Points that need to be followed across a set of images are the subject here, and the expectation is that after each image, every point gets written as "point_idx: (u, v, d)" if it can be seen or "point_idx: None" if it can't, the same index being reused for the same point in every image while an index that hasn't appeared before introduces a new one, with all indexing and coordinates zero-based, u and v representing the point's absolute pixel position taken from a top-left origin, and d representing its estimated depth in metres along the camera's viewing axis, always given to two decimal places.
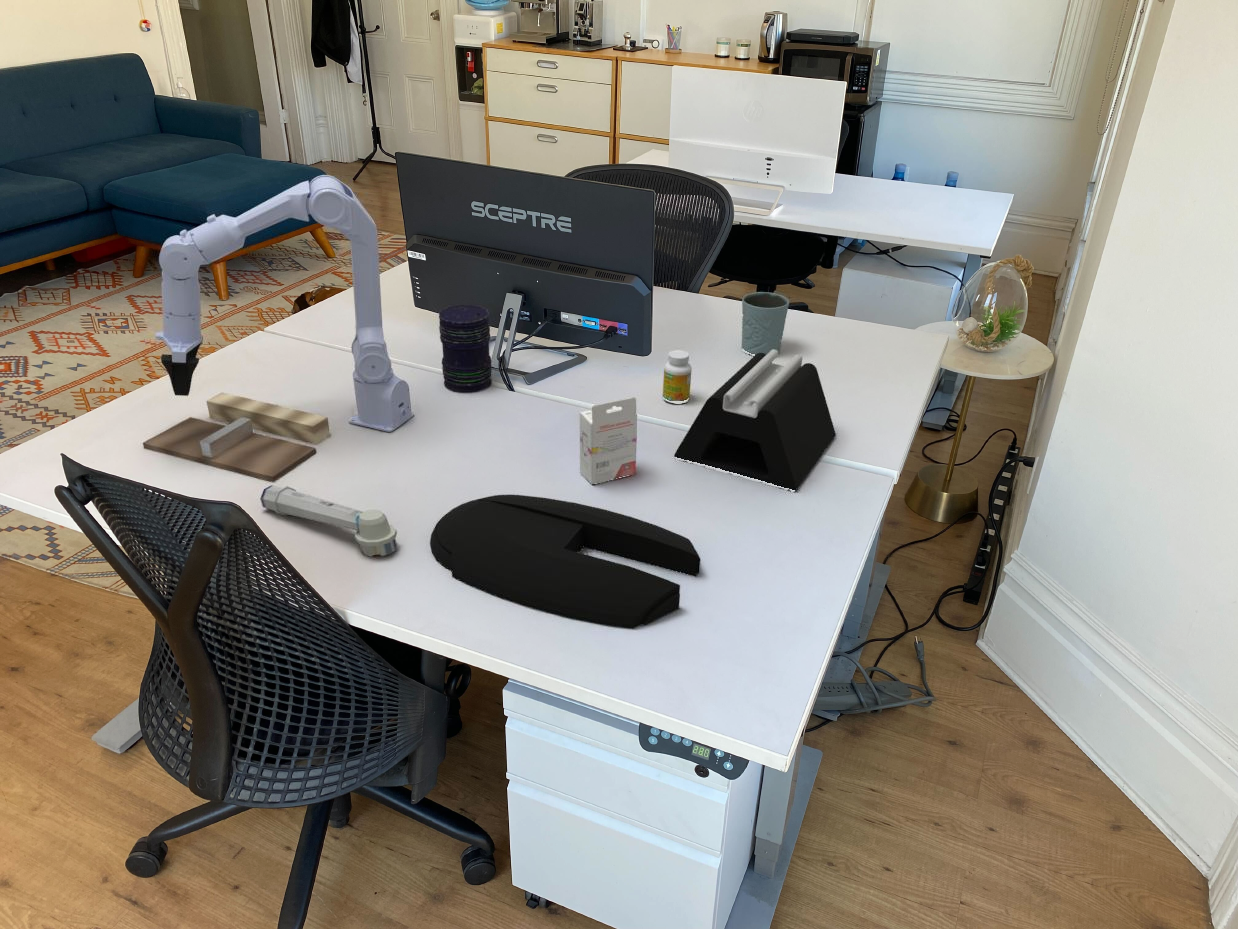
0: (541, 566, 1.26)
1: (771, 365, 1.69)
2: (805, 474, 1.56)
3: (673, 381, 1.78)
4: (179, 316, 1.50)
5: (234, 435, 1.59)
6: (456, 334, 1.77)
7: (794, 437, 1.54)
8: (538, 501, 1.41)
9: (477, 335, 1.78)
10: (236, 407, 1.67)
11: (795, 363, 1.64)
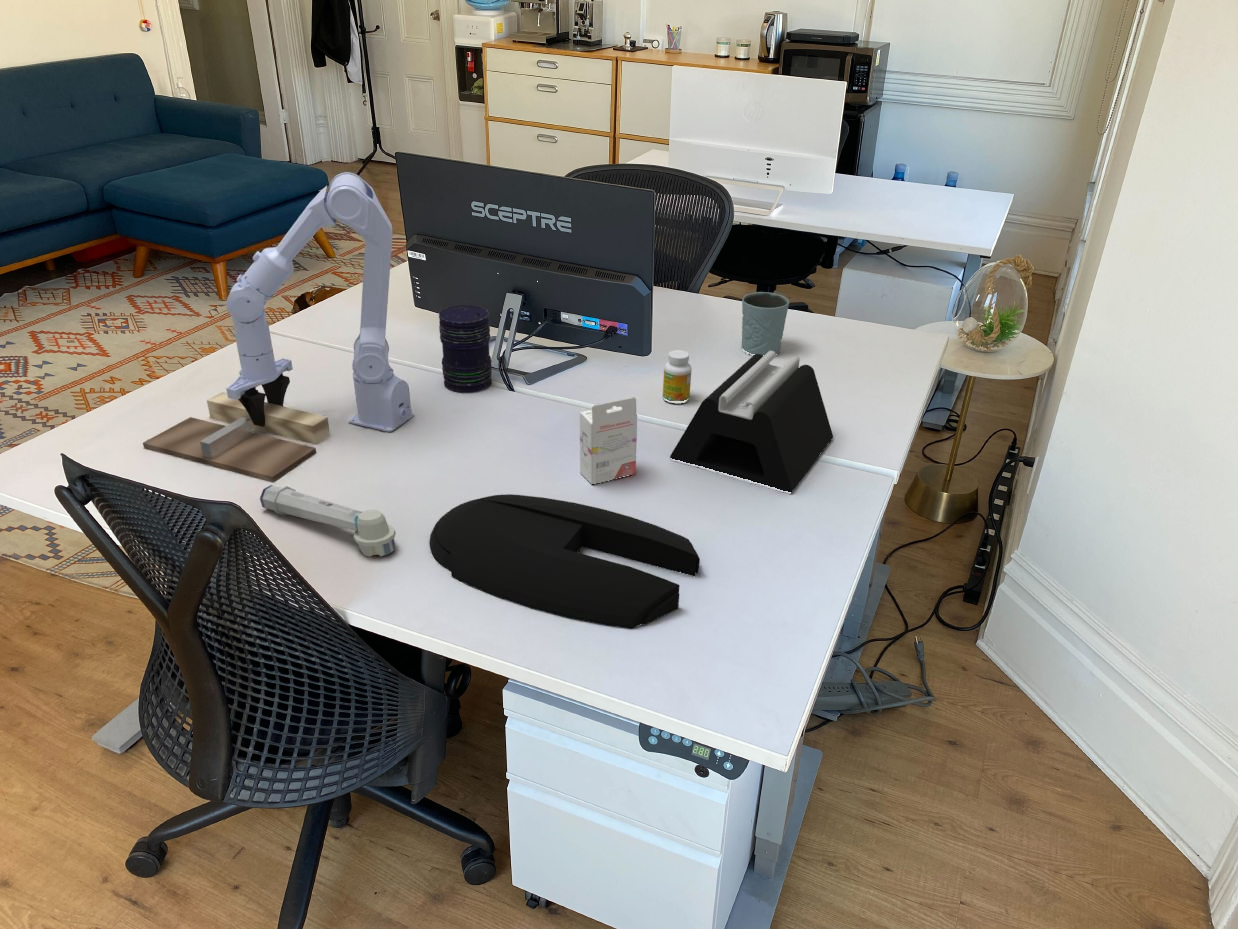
0: (540, 566, 1.26)
1: (768, 366, 1.68)
2: (801, 476, 1.56)
3: (673, 381, 1.78)
4: (244, 356, 1.59)
5: (234, 435, 1.59)
6: (456, 334, 1.77)
7: (790, 439, 1.54)
8: (537, 501, 1.41)
9: (477, 335, 1.78)
10: (237, 407, 1.67)
11: (792, 364, 1.63)
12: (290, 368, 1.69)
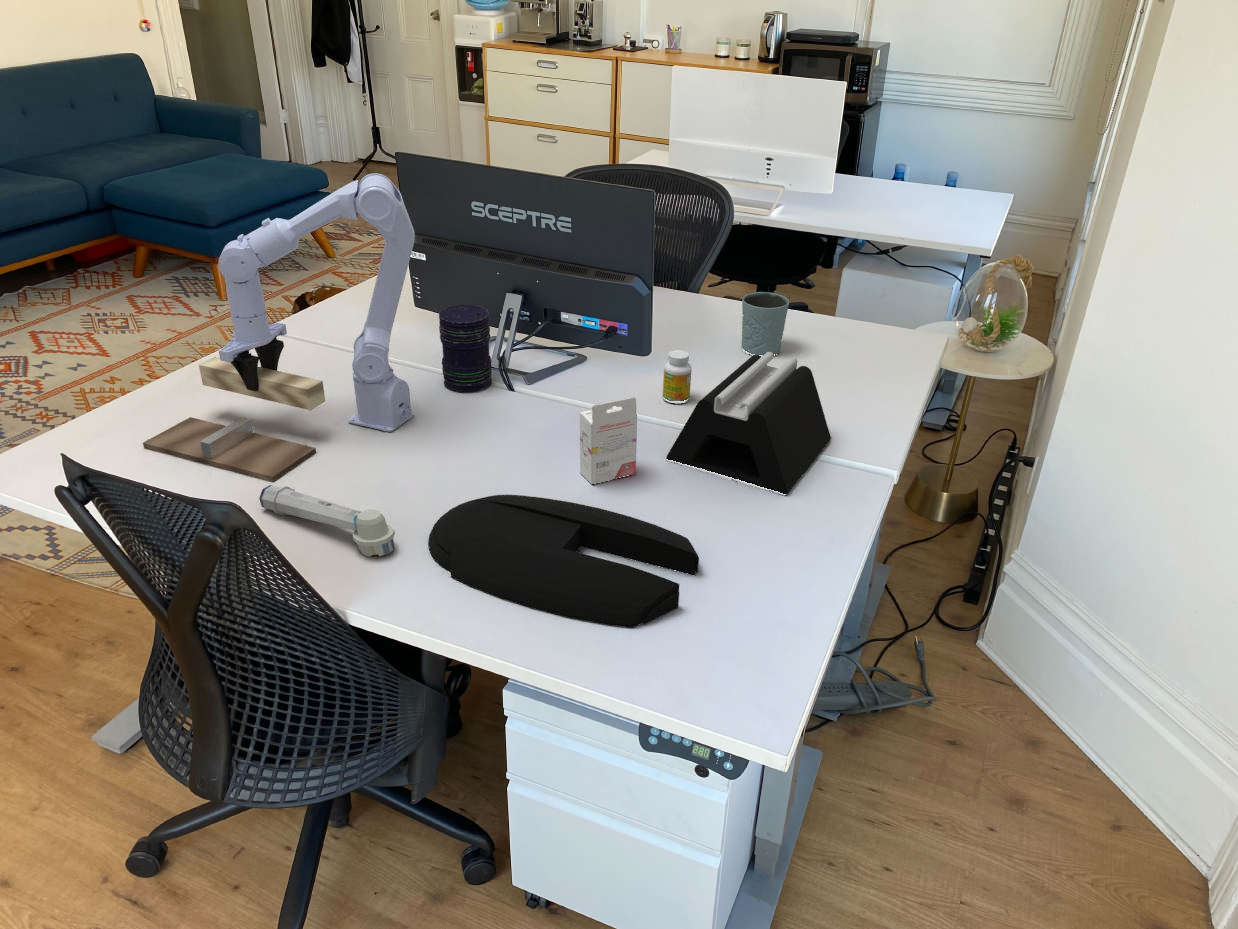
0: (540, 566, 1.26)
1: (766, 368, 1.68)
2: (797, 478, 1.55)
3: (673, 381, 1.78)
4: (236, 318, 1.55)
5: (234, 435, 1.59)
6: (456, 334, 1.77)
7: (786, 440, 1.53)
8: (536, 501, 1.41)
9: (477, 335, 1.78)
10: (229, 371, 1.63)
11: (789, 366, 1.63)
12: (284, 332, 1.65)
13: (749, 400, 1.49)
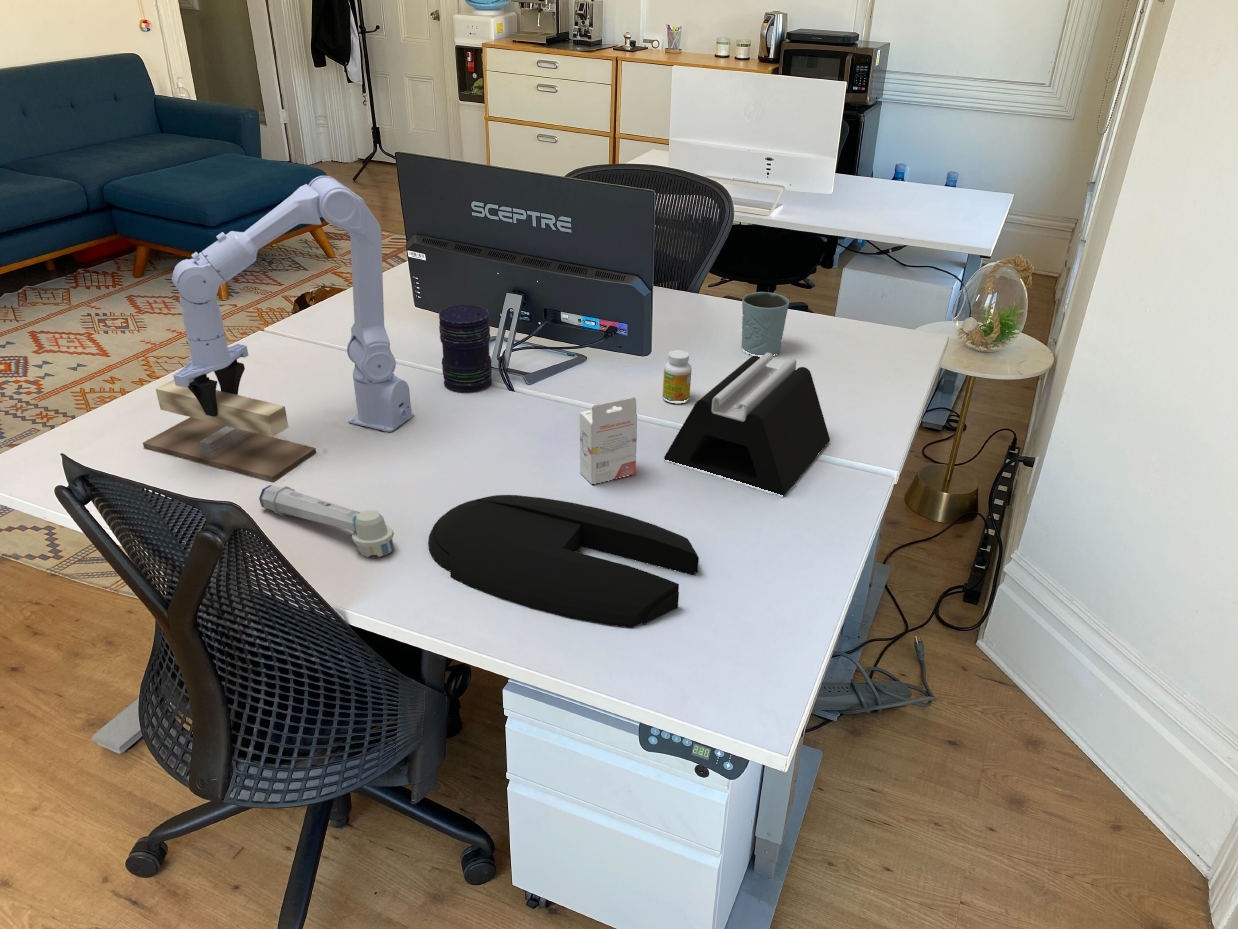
0: (539, 566, 1.26)
1: (765, 368, 1.68)
2: (795, 479, 1.55)
3: (673, 381, 1.78)
4: (192, 341, 1.47)
5: (234, 435, 1.59)
6: (456, 334, 1.77)
7: (784, 441, 1.53)
8: (536, 501, 1.41)
9: (477, 335, 1.78)
10: (187, 395, 1.55)
11: (788, 367, 1.62)
12: (245, 354, 1.58)
13: (747, 401, 1.49)
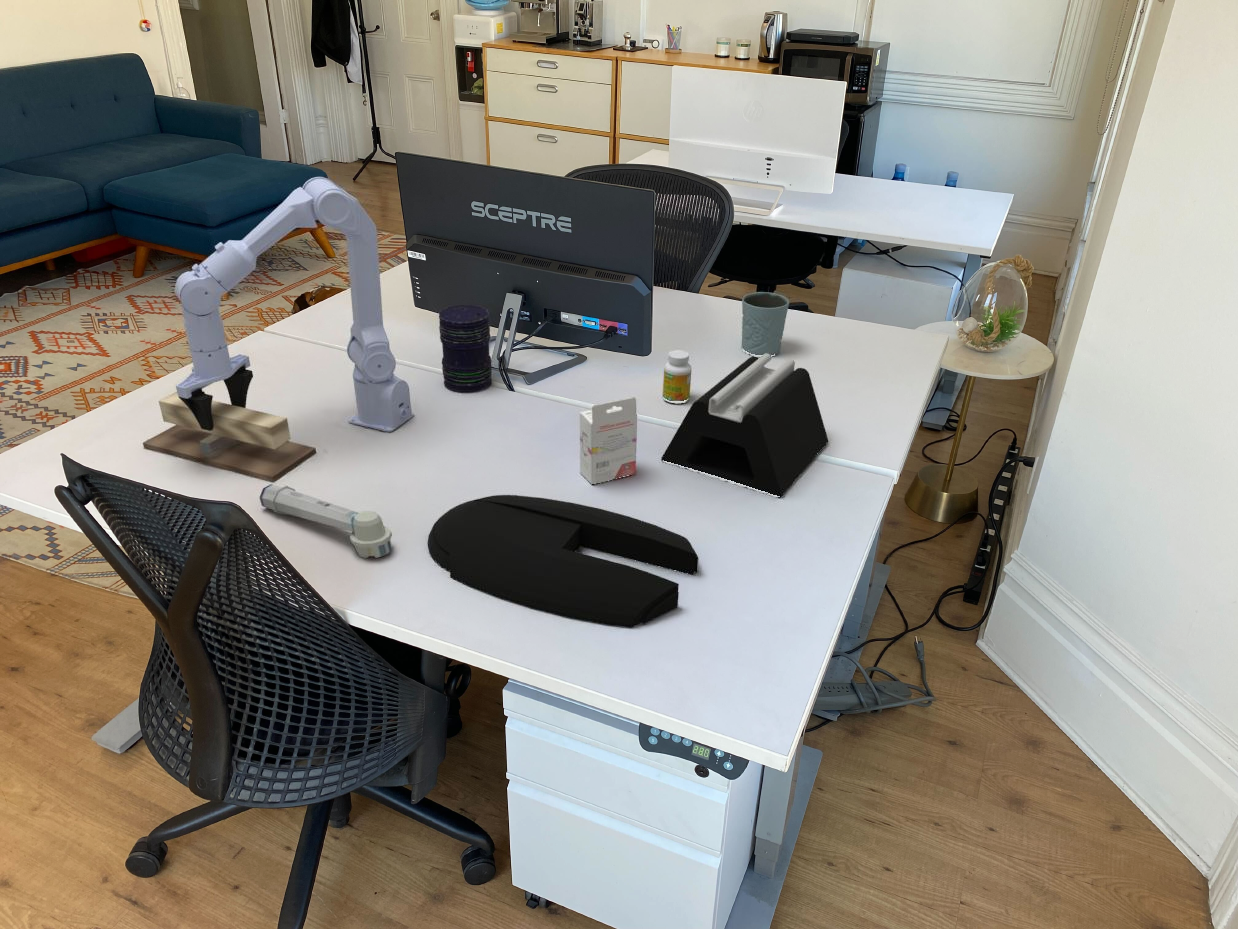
0: (539, 566, 1.26)
1: (763, 369, 1.67)
2: (792, 480, 1.54)
3: (673, 381, 1.78)
4: (195, 352, 1.48)
5: None
6: (456, 334, 1.77)
7: (781, 442, 1.53)
8: (535, 501, 1.41)
9: (477, 335, 1.78)
10: None
11: (786, 368, 1.62)
12: (247, 365, 1.59)
13: (744, 402, 1.49)
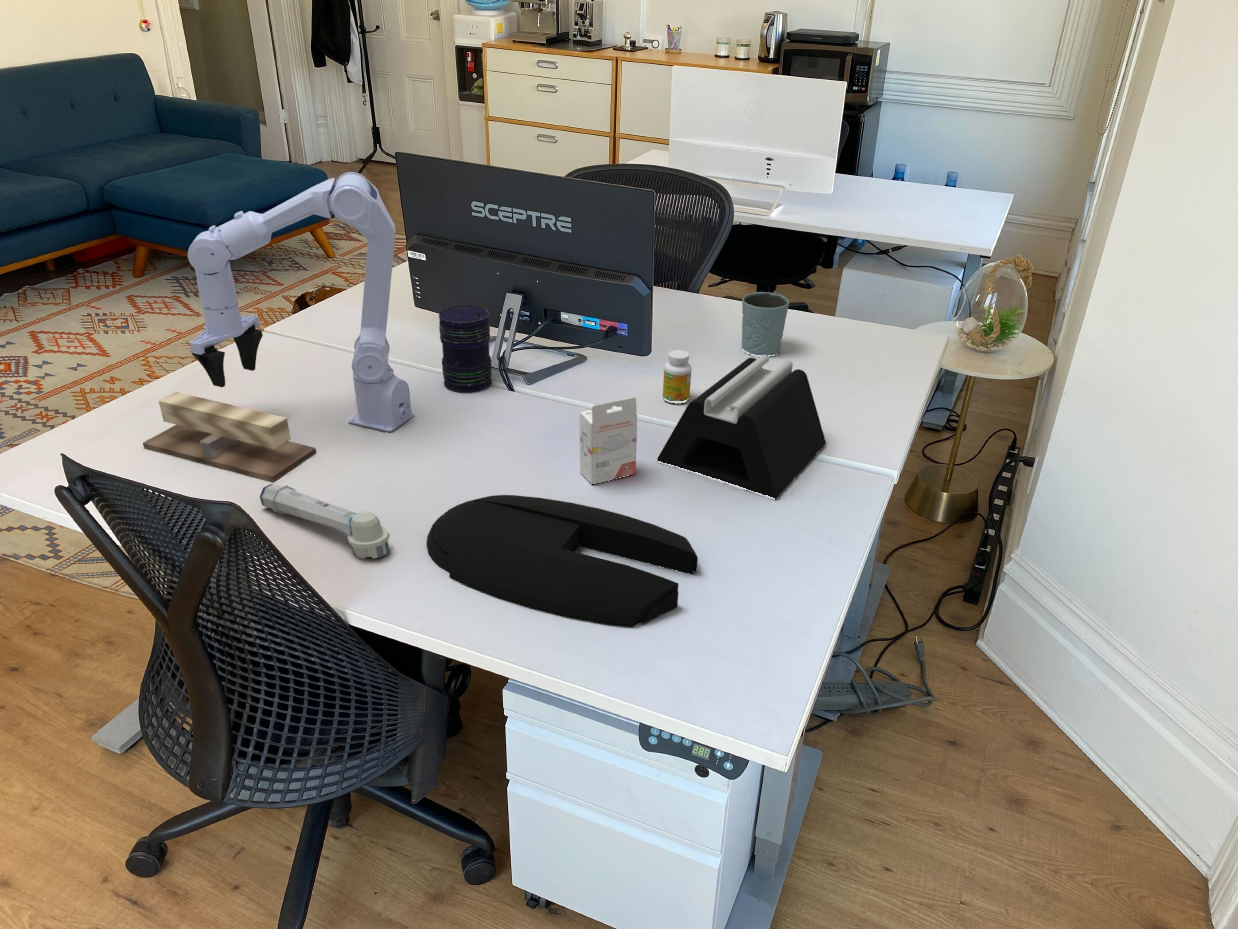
0: (539, 566, 1.26)
1: (761, 370, 1.67)
2: (787, 482, 1.54)
3: (673, 381, 1.78)
4: (208, 310, 1.54)
5: None
6: (456, 334, 1.77)
7: (777, 444, 1.52)
8: (534, 501, 1.41)
9: (477, 335, 1.78)
10: (190, 408, 1.56)
11: (784, 369, 1.61)
12: (257, 325, 1.64)
13: (739, 403, 1.48)
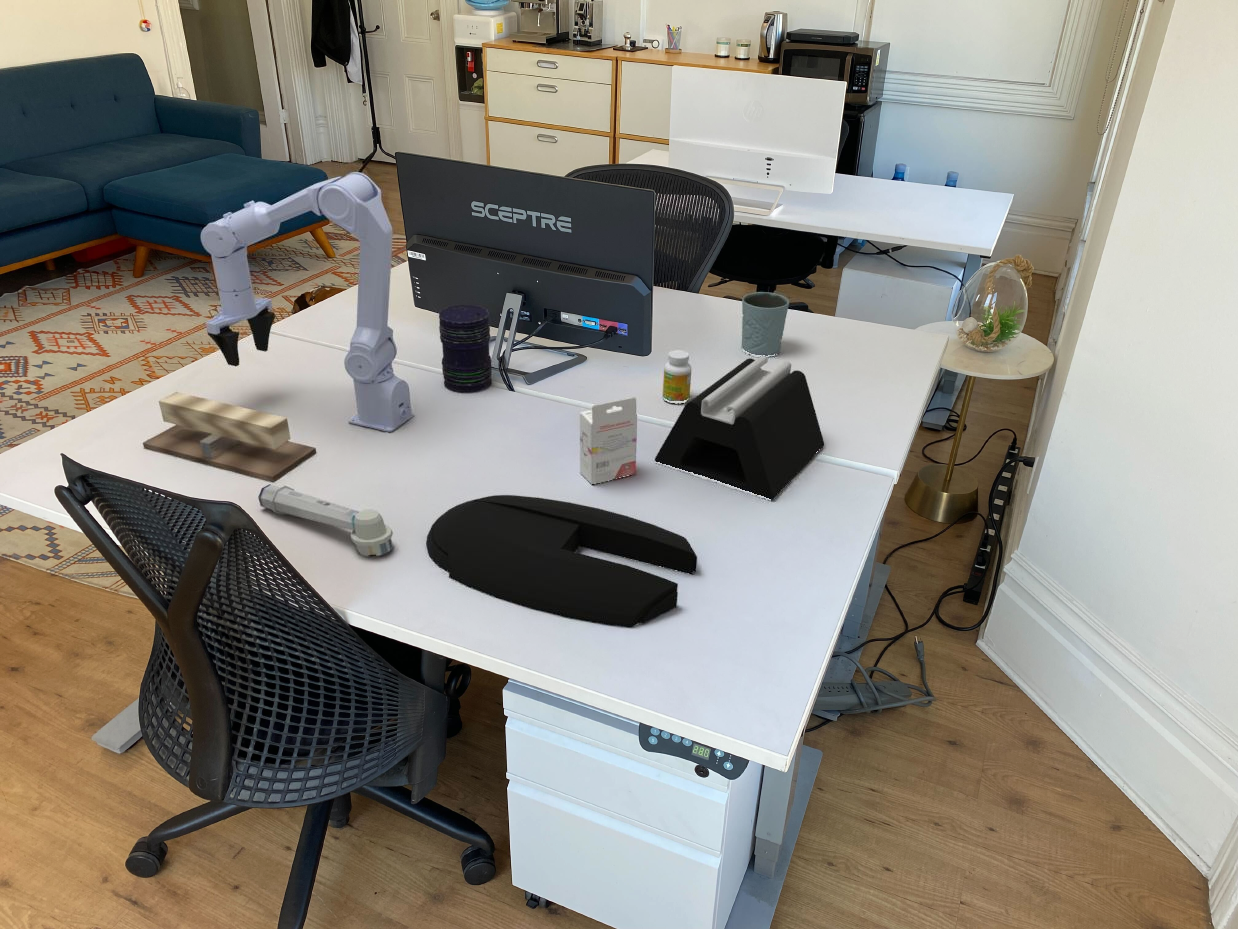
0: (538, 567, 1.26)
1: (760, 371, 1.66)
2: (785, 483, 1.53)
3: (673, 381, 1.78)
4: (223, 292, 1.62)
5: None
6: (456, 334, 1.77)
7: (774, 445, 1.52)
8: (534, 501, 1.41)
9: (477, 335, 1.78)
10: (190, 408, 1.56)
11: (782, 370, 1.61)
12: (270, 307, 1.72)
13: (736, 403, 1.48)
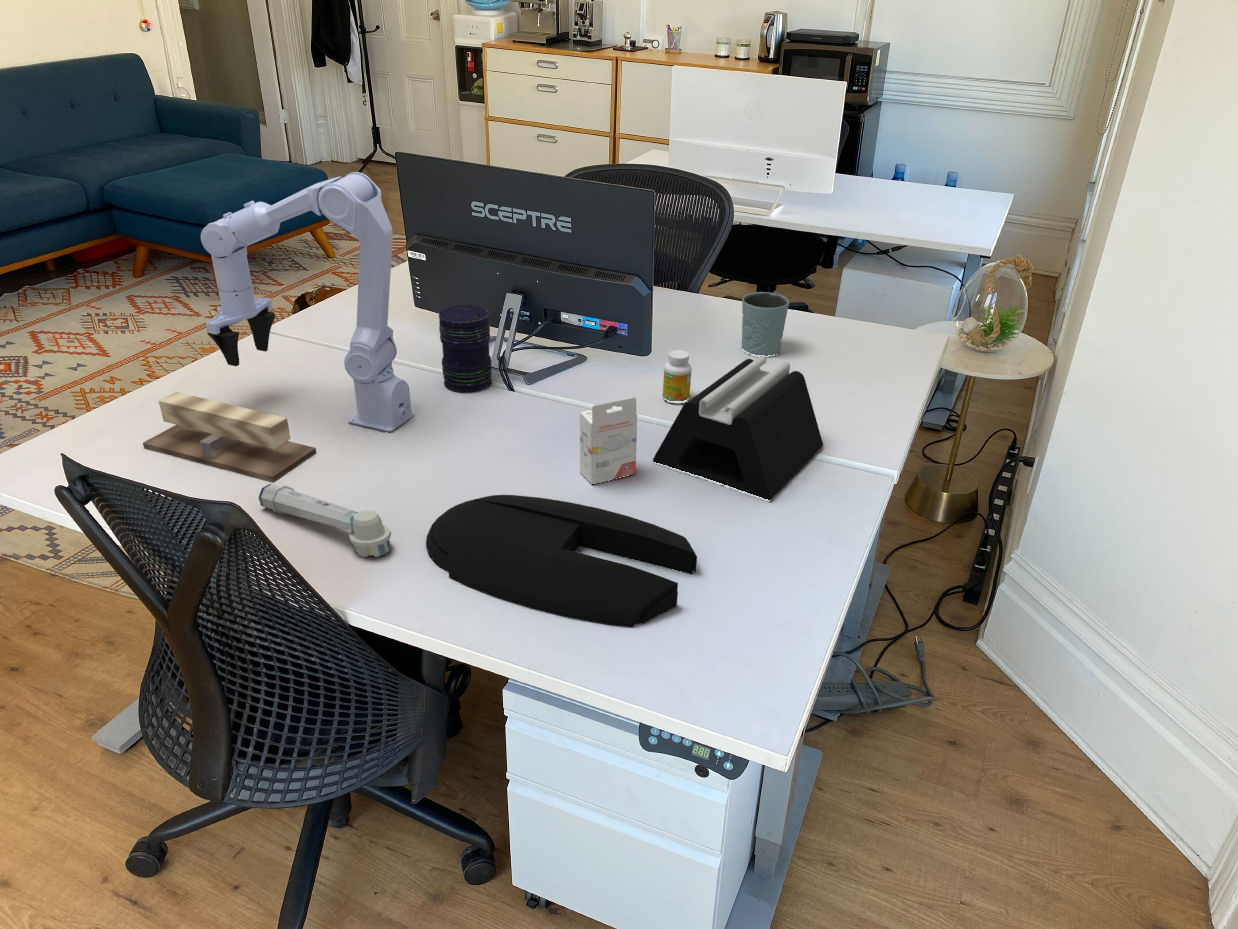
0: (538, 566, 1.26)
1: (759, 372, 1.66)
2: (783, 484, 1.53)
3: (673, 381, 1.78)
4: (223, 292, 1.62)
5: None
6: (456, 334, 1.77)
7: (772, 446, 1.52)
8: (534, 501, 1.41)
9: (477, 335, 1.78)
10: (190, 408, 1.56)
11: (781, 370, 1.61)
12: (270, 307, 1.72)
13: (734, 404, 1.48)
